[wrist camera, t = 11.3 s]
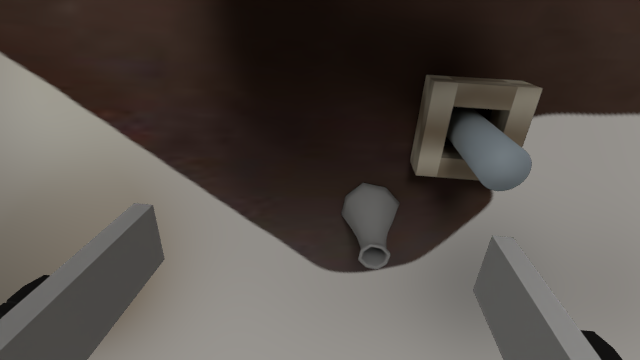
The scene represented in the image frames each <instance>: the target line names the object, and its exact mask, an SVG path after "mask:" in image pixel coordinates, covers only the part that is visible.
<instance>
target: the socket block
mask: <svg viewBox="0 0 640 360" xmlns="http://www.w3.org/2000/svg"><path fill="white" fill-rule="evenodd" d="M542 89H543V88H540V87H538V86H535V85H532V84H530V83H527V82H525V81H518V80H502V79H486V78H471V77H455V76H440V75H426V79H425V84H424V89H423V94H422V100H421V105H420V110H419V116H418V121H417V126H416V132H415V137H414V142H413V148H412V153H411V158H410V162H411V165H412V167H413V170H414V172H415V175H418V176H430V177H443V178H455V179H467V180H479V179H478V178H477V176H476V175H475V174H474V172H473V171H472V170H471V168H470V167H469V166H468V164H467V163H466V162H465V160H464V159H463V158H462V156H461V155H460V154H459V152H458V151H457V150H456V148H455V147H454V146H444V143H445V139H446V135H447V130H448V126H449V122H450V118H451V113H452V109H453V106H454V107H468V108H483V109H492V112H491V116H490V119H489V122H490V123H492V124H493V125H494V126H495V127H497V128H498V129H499V130H500V131H502V132H503V133H504V134H505V135H507V136H508V137H509V138H510V139H512V140H513V141H514V142H515V143H516V144H518V145H519V146H520V147H521V148H522V146H523V144H524V141H525V138H526V135H527V132H528V129H529V126H530V124H531V121H532V118H533V115H534V112H535V109H536V106H537V104H538V101H539V98H540V95H541V92H542ZM479 181H480V180H479Z"/></svg>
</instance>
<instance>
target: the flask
mask: <svg viewBox="0 0 640 360" xmlns="http://www.w3.org/2000/svg"><path fill="white" fill-rule="evenodd" d="M398 206H399V202H398V200H397V199H396V198H395V197H394V196H393V195H392V194H391V193H390V192H389V191H388V189H387V188H386V187H381V186H376V185H372V184H367V183H362V184H361V185H360V186H358V187H357V188H356V189H354V190H353V191H351V192H350V193H349V194H347V195H346V197H345V201H344V205H343V209H342V213H341V214H342V216H343V217H344V219H345V220H346V222H347V223H348V224H349V226H350V227H351V229H352V230H353V232H354V234H355V235H356V237H357V239H358V242H359V245H360V249H361V251H360V254H359V257H358V260H359V261H360V262H361V263H362V264H363V265H364V266H365V267H366V268H371V269H376V270H378V269H380V268H381V267H383V266H385V265H386V264H387V263H388V260H389V257H390V252H389V251H388V250H387V248H386V239H387V233H388V231H389V229H390V227H391V225H392V223H393V220H394V217H395V214H396V211H397V209H398Z"/></svg>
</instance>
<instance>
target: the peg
mask: <svg viewBox="0 0 640 360" xmlns="http://www.w3.org/2000/svg"><path fill="white" fill-rule="evenodd" d="M446 136H447V138H448V139H449V140H450V142H451V143H452V144H453V146H454V147H455V148H456V150H457V151H458V152H459V154H460V155H461V156H462V158H463V159H464V160H465V162H466V163H467V164H468V166H469V167H470V168H471V170H472V171H473V172H474V174H475V175H476V176H477V178H478V179H479V180H480V182H481V183H482V184H483V185H484V186H485V187H486V188H488V189H491V190H494V191H505V190H509V189H512V188H514V187H516V186H518V185H520V184H521V183H522V182H523V181H524V180H525V179H526V178H527V176H528V175H529V173H530V170H531V166H532V162H531V158H530V156H529V154H528V153H527V152H526V151H525V150H524V149H523V148H521V147H520V146H519V145H518V144H516V143H515V142H514V141H513V140H512V139H510V138H509V137H508V136H507V135H505V134H504V133H503V132H502V131H500V130H499V129H498V128H497V127H495V126H494V125H493V124H492V123H490V122H489V121H488V120H487V119H485V118H484V117H483V116H482V115H480V114H479V113H478V112H477V111H475V110H474V109H472V108H468V107H459V108H456V109H454V110H453V111H452V113H451V118H450V122H449V126H448V130H447V135H446Z"/></svg>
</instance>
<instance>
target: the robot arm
mask: <svg viewBox="0 0 640 360" xmlns="http://www.w3.org/2000/svg"><path fill="white" fill-rule="evenodd" d="M163 260H164V255H163V250H162V245H161V241H160V236H159V232H158V226H157V222H156V217H155V213H154V208H153V205H148V204H137V203H134V204H133V205H132V206H131V207H129V208H128V209H127V210H126V211H125V212H124V213H122V214H121V215H120V216H119V217H118V218H117V219H115V220H114V221H113V222H112V223H111V224H110V225H109V226H107V227H106V228H105V229H104V230H103V231H102V232H100V233H99V234H98V235H97V236H96V237H95V238H94V239H92V240H91V241H90V242H89V243H88V244H87V245H85V246H84V247H83V248H82V249H81V250H80V251H78V252H77V253H76V254H75V255H74V256H73V257H72V258H70V259H69V260H68V261H67V262H66V263H65V264H63V265H62V266H61V267H60V268H59V269H58V270H57V271H55V272H54V273H53V274H52V275H51V276H49V275H43V276H42V277H40V278H38V279H36V280H34V281H33V282H31V283H29V284H27V285H25V286H24V287H22V288H21V289H20V290H19V291H17V292H16V293H15V294H14V295H13V296H11V297H10V298H9V299H8V300H7V302H6V303H3V304H2V305H0V360H87V359H88V358H89V357H90V355H91V354H92V353H93V351H94V350H95V349H96V348H97V346H98V345H99V344H100V342H101V341H102V340H103V338H104V337H105V336H106V335H107V333H108V332H109V331H110V329H111V328H112V327H113V325H114V324H115V323H116V322H117V320H118V319H119V317H120V316H121V315H122V314H123V312H124V311H125V310H126V309H127V307H128V306H129V305H130V303H131V302H132V301H133V299H134V298H135V297H136V296H137V294H138V293H139V292H140V290H141V289H142V288H143V286H144V285H145V284H146V282H147V281H148V280H149V279H150V277H151V276H152V275H153V273H154V272H155V271H156V270H157V268H158V267H159V266H160V264H161V263H162V262H163ZM473 291H474V293H475V296H476V298H477V300H478V302H479V305H480V307H481V309H482V312H483V314H484V316H485V319H486V321H487V323H488V325H489V328H490V330H491V332H492V335H493V337H494V339H495V341H496V344H497V346H498V348H499V351H500V353H501V355H502V357H503V359H504V360H622V358H621V357H620V356H619V355H618V353H617V352H616V351H615V349H614V348H613V347H611V346H610V345H609V344H608V343H607V342H605V341H604V340H603V339H602V338H601V337H599V336H598V335H597V334H596V333H595V332H593V331H582V330H580V329H579V328H578V327H577V325H576V324H575V322H574V321H573V320H572V318H571V317H570V316H569V314H568V313H567V311H566V310H565V309H564V307H563V306H562V304H561V303H560V302H559V300H558V299H557V298H556V296H555V295H554V293H553V292H552V291H551V289H550V288H549V286H548V285H547V284H546V282H545V281H544V279H543V278H542V277H541V275H540V274H539V273H538V271H537V270H536V268H535V267H534V266H533V264H532V263H531V262H530V260H529V259H528V257H527V256H526V254H525V253H524V252H523V250H522V249H521V248H520V246H519V245H518V243H517V242H516V241H515V239H514V238H513V237H501V236H492V238H491V241H490V243H489V246H488V249H487V252H486V255H485V258H484V261H483V263H482V266H481V269H480V272H479V275H478V277H477V280H476V283H475V286H474V289H473Z"/></svg>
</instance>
